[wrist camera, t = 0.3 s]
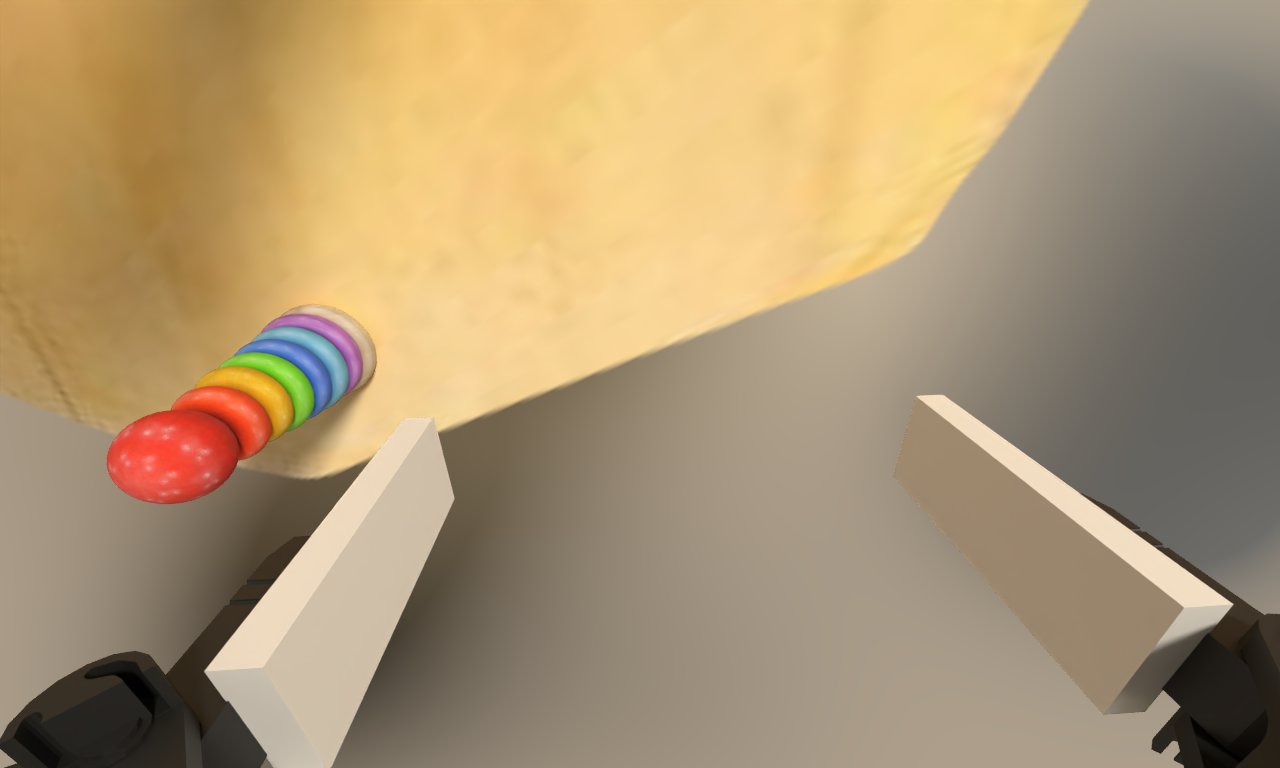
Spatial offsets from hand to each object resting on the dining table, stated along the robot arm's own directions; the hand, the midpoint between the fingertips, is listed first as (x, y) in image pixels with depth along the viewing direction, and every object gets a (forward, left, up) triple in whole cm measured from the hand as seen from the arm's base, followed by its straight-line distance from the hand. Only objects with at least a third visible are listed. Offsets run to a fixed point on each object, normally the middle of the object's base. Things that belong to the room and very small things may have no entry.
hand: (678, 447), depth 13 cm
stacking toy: (+6, -26, -28) cm, 39 cm away
